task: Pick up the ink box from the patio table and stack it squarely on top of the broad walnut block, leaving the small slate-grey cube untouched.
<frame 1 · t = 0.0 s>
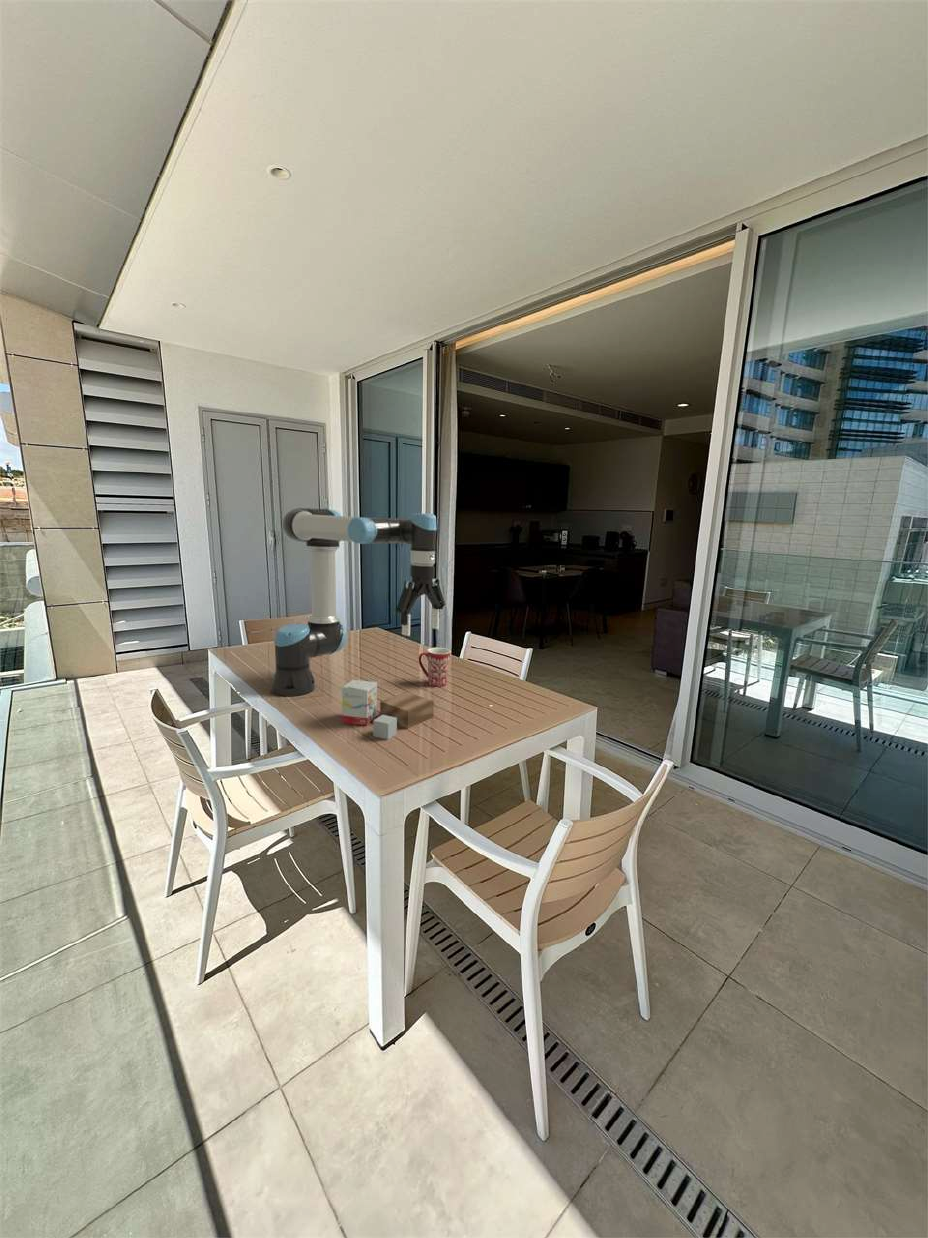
hand: (420, 631, 158), 28 cm above the table, fingers open, 13 cm apart
mug: (433, 683, 195), on the table
walnut block: (406, 718, 161), on the table
ink box: (359, 720, 158), on the table
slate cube: (385, 735, 148), on the table
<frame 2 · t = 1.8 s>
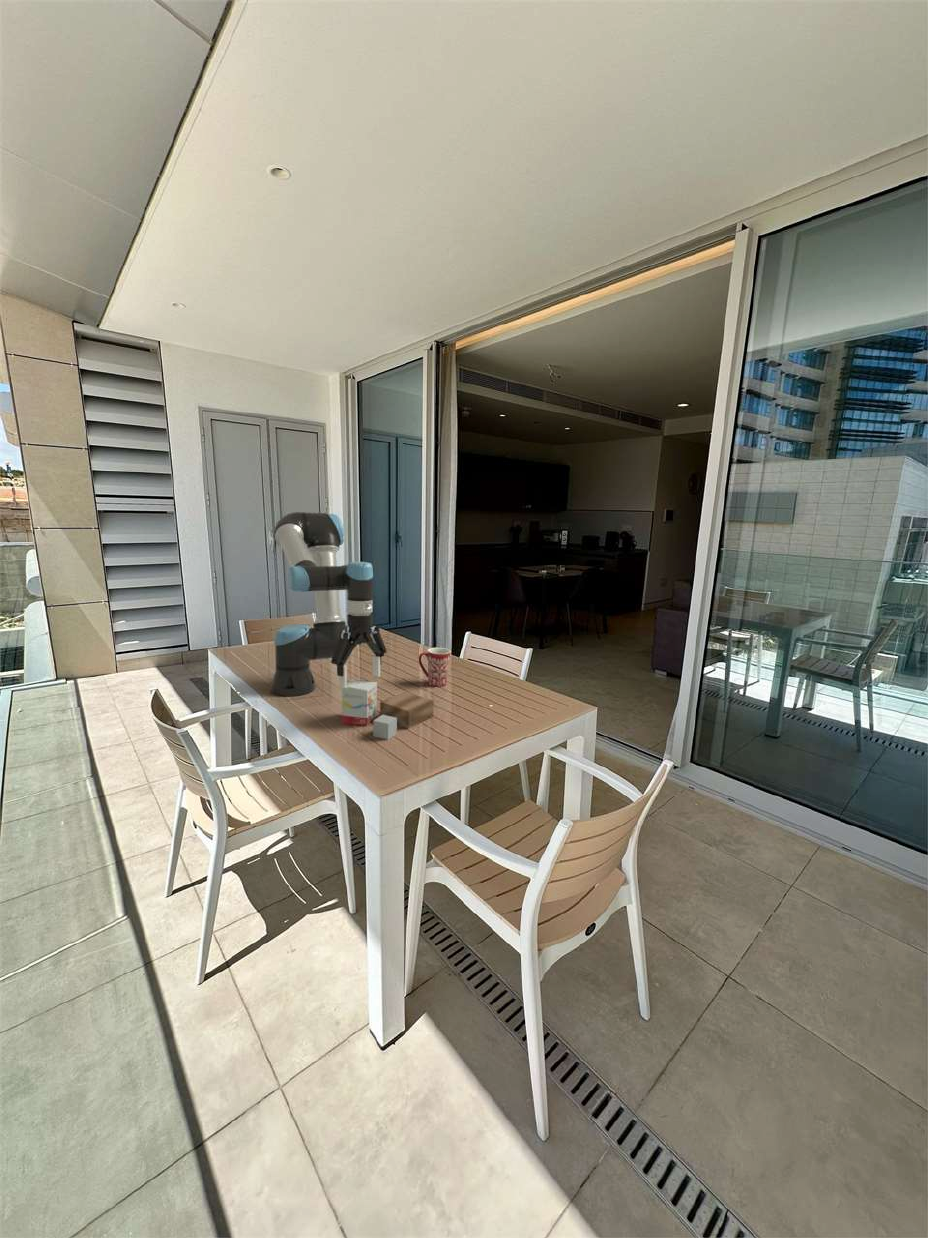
hand: (360, 680, 155), 13 cm above the table, fingers open, 13 cm apart
nothing on the table moved.
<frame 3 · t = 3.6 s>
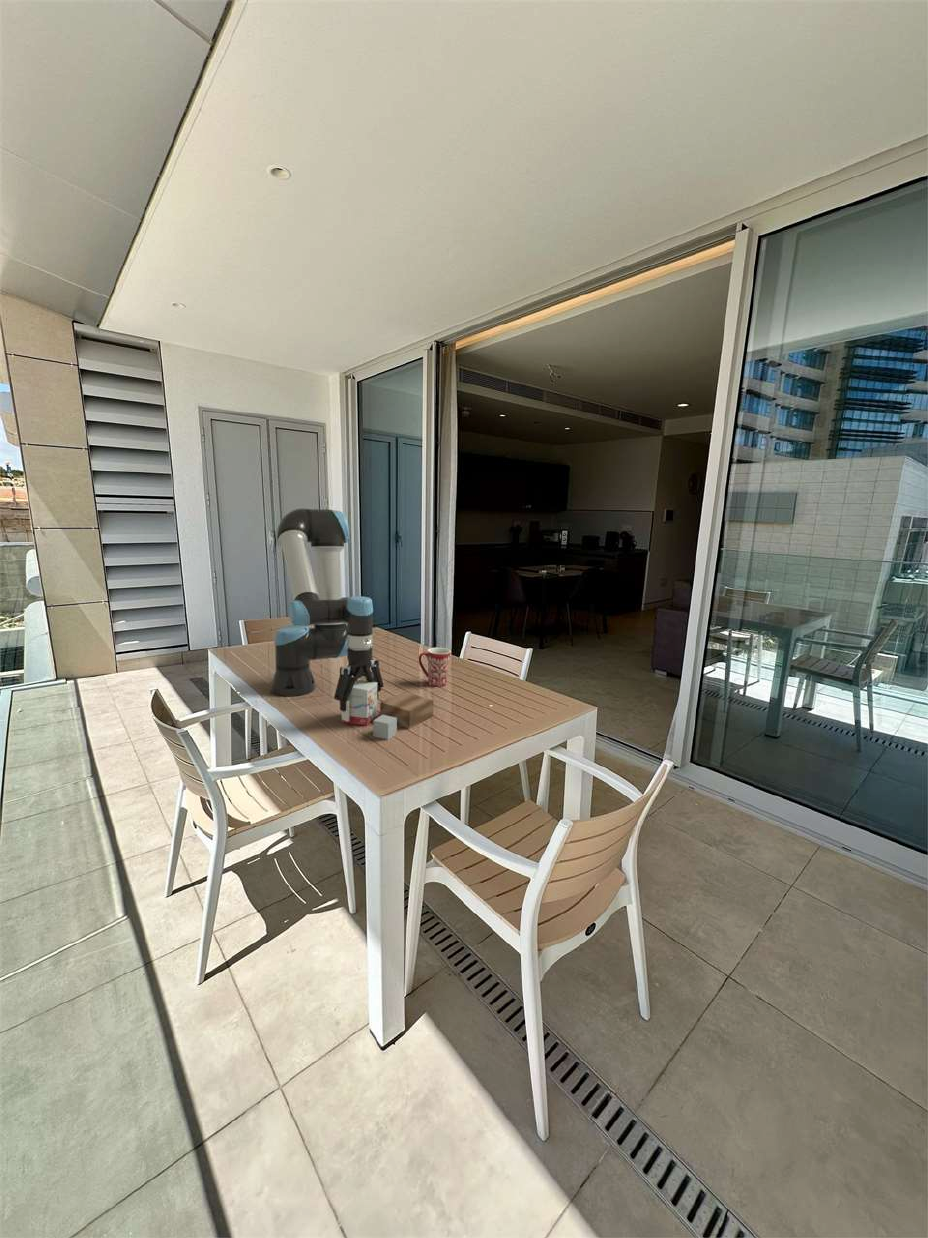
hand: (359, 714, 158), 1 cm above the table, fingers closed on ink box, 11 cm apart
ink box: (359, 719, 158), on the table, touching gripper
everything else where it was.
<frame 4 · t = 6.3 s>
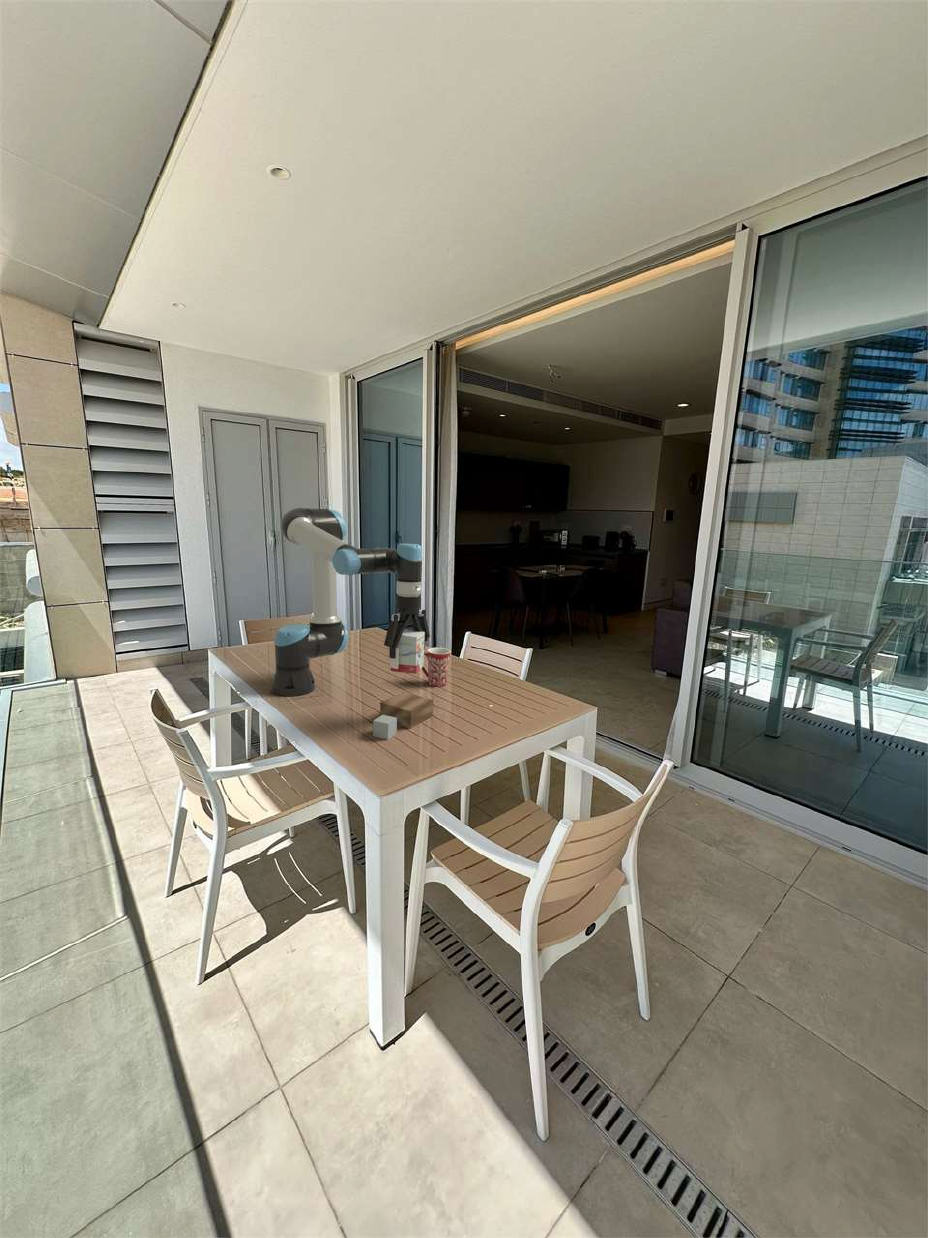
hand: (407, 664, 157), 18 cm above the table, fingers closed on ink box, 11 cm apart
ink box: (407, 669, 157), point 16 cm above the table, touching gripper
everything else where it was.
when the fingers open (9 cm above the table, at t = 8.9 s): ink box drops 2 cm, resting on walnut block.
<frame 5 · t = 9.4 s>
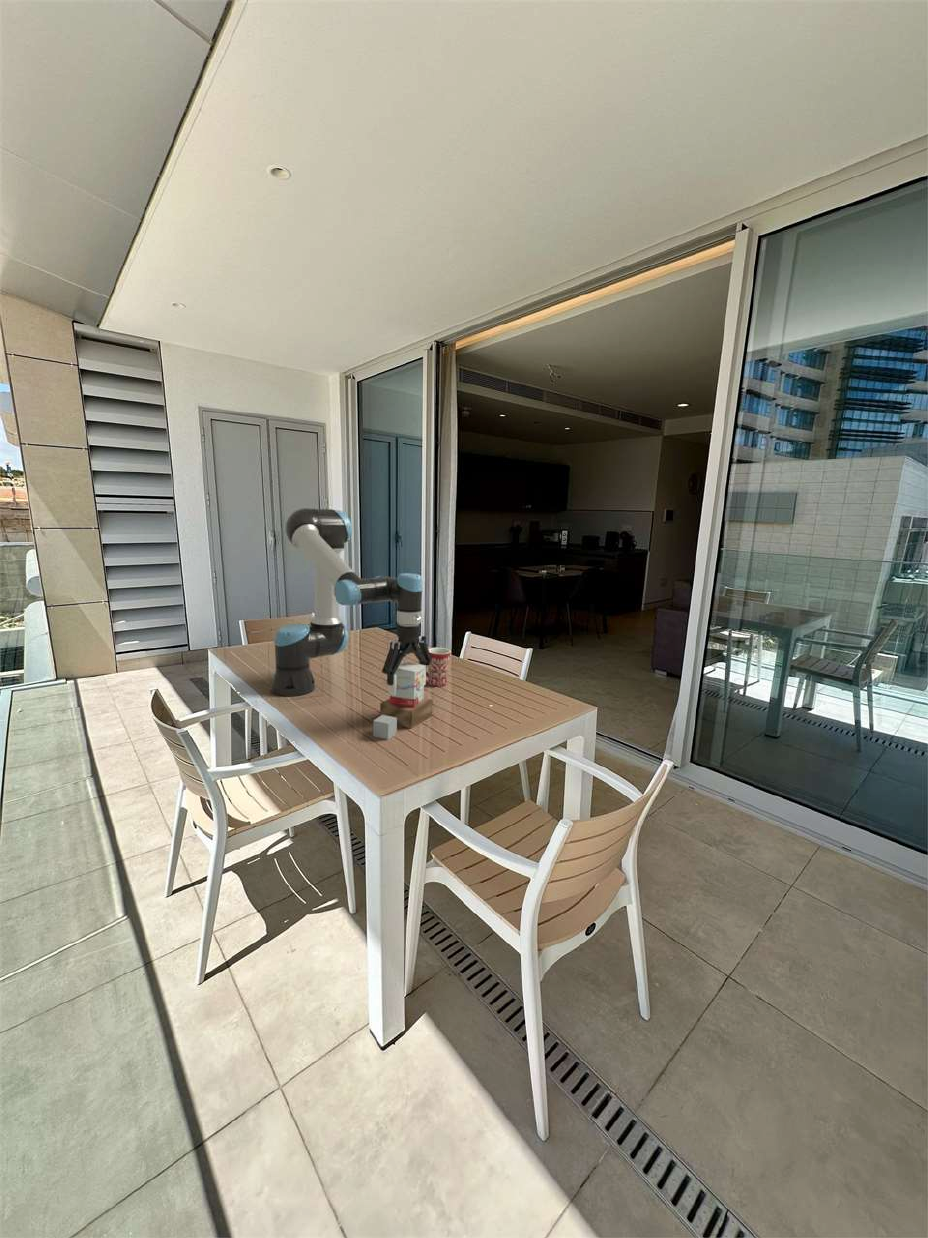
hand: (407, 689, 159), 10 cm above the table, fingers open, 13 cm apart
walnut block: (406, 719, 161), on the table, touching ink box
ink box: (407, 701, 160), point 5 cm above the table, touching walnut block
everything else where it was.
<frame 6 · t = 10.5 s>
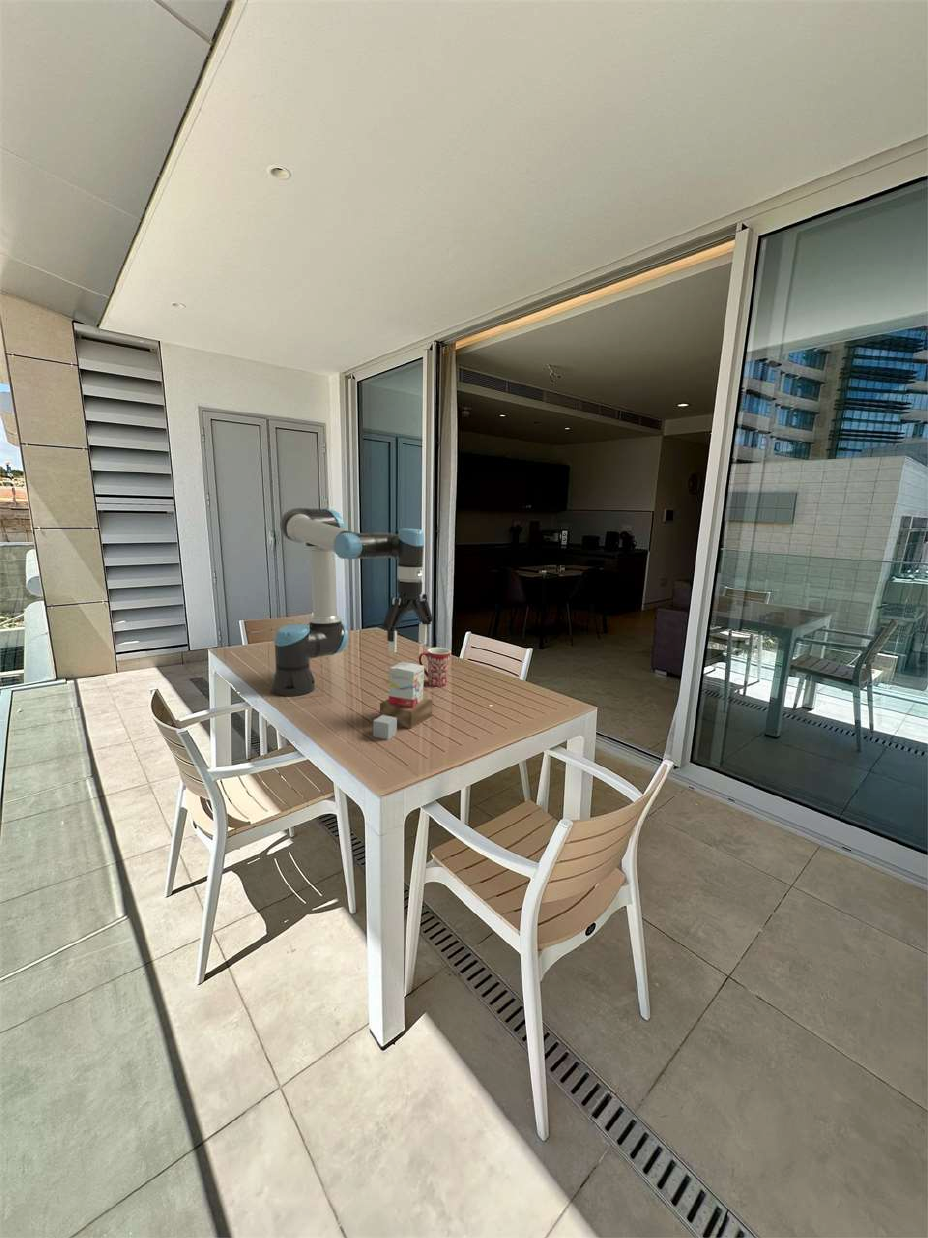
hand: (407, 647, 156), 23 cm above the table, fingers open, 13 cm apart
nothing on the table moved.
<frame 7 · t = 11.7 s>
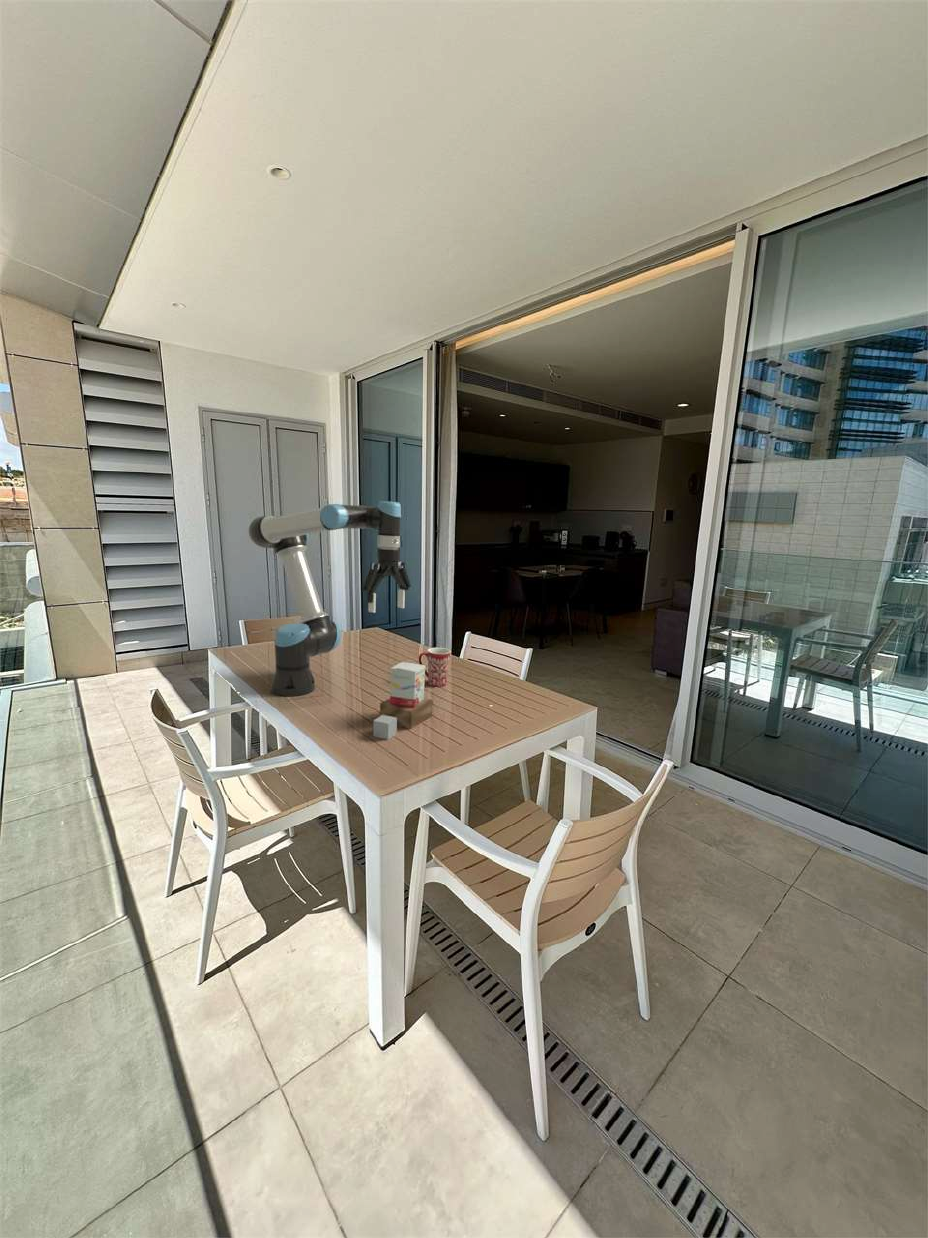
hand: (386, 609, 173), 31 cm above the table, fingers open, 13 cm apart
walnut block: (406, 719, 161), on the table
ink box: (407, 702, 159), point 5 cm above the table
everything else where it was.
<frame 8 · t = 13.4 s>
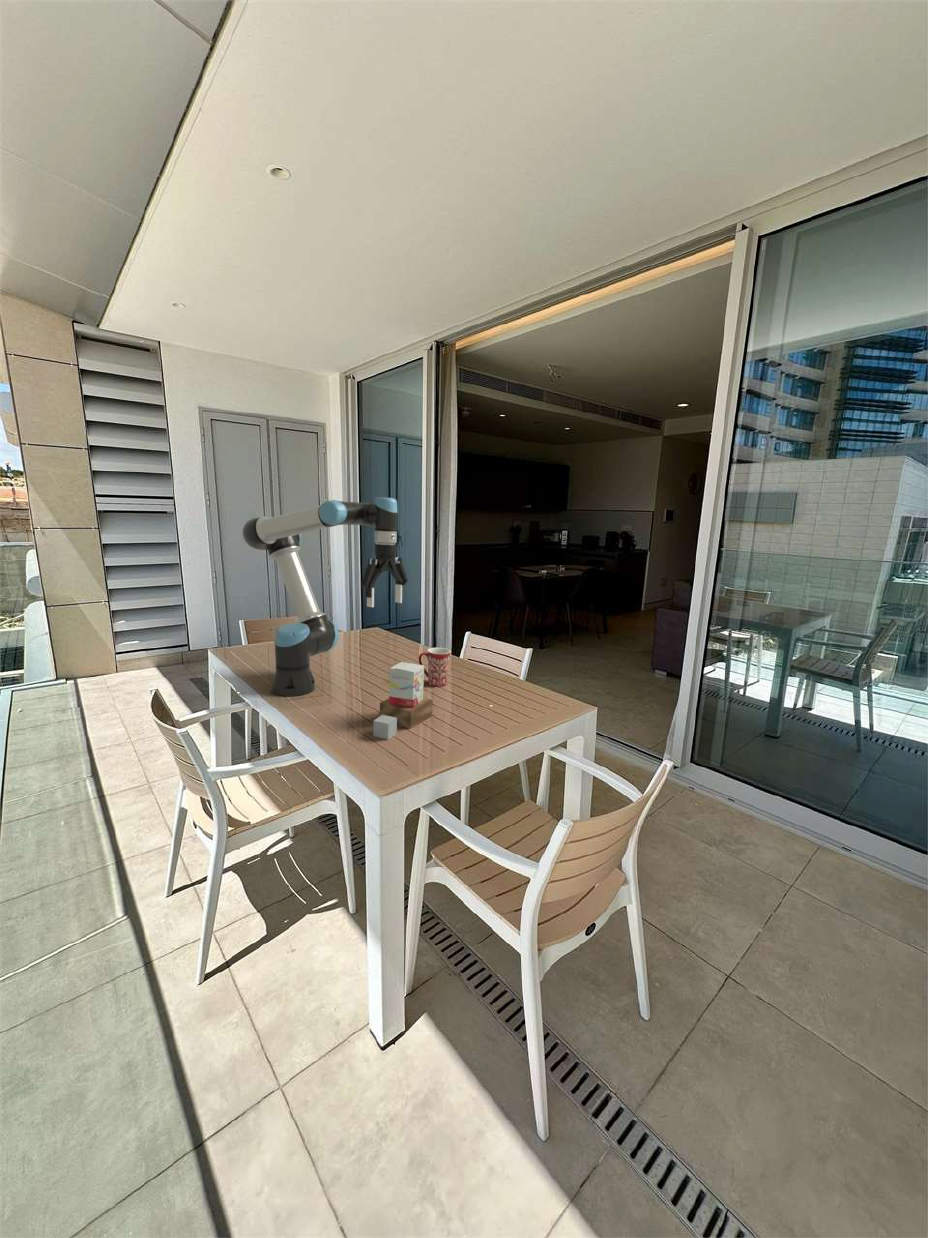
hand: (384, 604, 176), 33 cm above the table, fingers open, 13 cm apart
walnut block: (406, 718, 161), on the table, touching ink box
ink box: (406, 702, 159), point 5 cm above the table, touching walnut block
everything else where it was.
at the end: ink box inside the target area on the walnut block (0.4 cm from its centre), point 5.8 cm above the walnut block's base; ink box tilted 0°; ink box touching walnut block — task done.
